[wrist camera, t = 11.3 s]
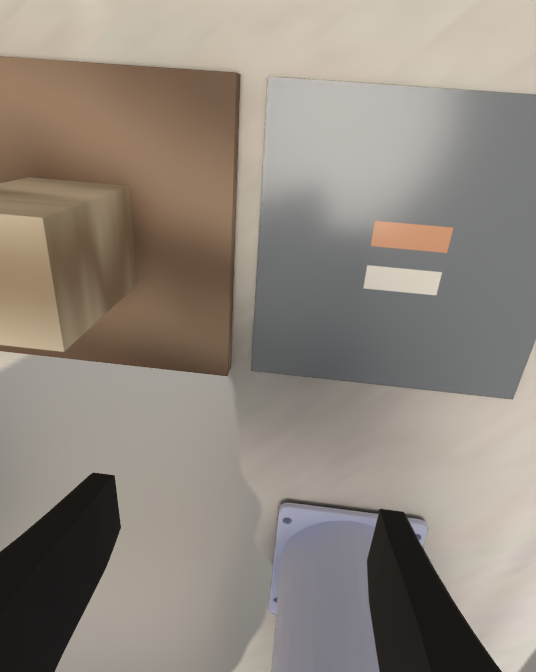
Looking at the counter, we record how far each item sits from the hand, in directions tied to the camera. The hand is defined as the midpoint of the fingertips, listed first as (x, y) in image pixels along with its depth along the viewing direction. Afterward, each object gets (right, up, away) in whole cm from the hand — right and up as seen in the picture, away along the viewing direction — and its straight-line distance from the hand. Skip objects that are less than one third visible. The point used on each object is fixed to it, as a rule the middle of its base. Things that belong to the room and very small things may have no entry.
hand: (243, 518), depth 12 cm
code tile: (+6, +8, +6) cm, 12 cm away
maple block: (-7, +9, +6) cm, 13 cm away
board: (-7, +9, +7) cm, 13 cm away
